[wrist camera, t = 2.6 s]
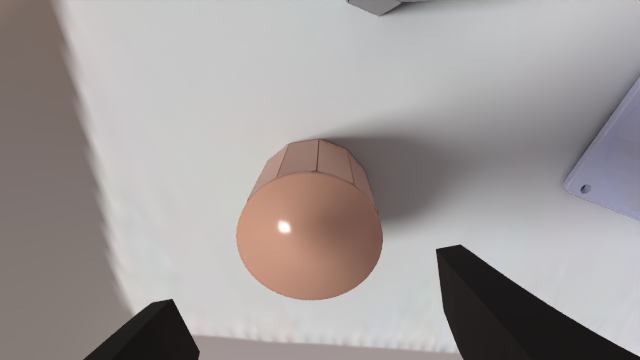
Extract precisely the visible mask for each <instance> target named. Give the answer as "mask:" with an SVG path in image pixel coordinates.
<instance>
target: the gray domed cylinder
mask: <svg viewBox="0 0 640 360" xmlns="http://www.w3.org/2000/svg"><path fill="white" fill-rule="evenodd" d="M346 1H347V2H348V1H349V2H348V3H349V4H352V5H354V6H356V7H359V8H361V9H363V10H365V11H368V12H370V13H372V14H375V15H377V16H381V15H382V14H384V13H386V12H387V11H389V10H391V9H393V8H394V7H396V6H398V5H399V4H401V3H402V2H421V1H428V0H346Z"/></svg>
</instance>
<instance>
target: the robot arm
mask: <svg viewBox="0 0 640 360" xmlns="http://www.w3.org/2000/svg"><path fill="white" fill-rule="evenodd" d="M584 185H586V186H585V188H584V189H583V190H581V187H582V186H584ZM563 188H564V190H566V191H567V192H569V193H571V194H573V195H576V196H578V197H581V198H583V199H586V200H588V201H591V202H594V203H596V204H599V205H601V206H604V207H606V208H609V209H611V210H614V211H617V212H619V213H622V214H624V215H627V216H629V217H632V218H635V219H637V220H640V77H639V78H638V79H637V81H636V82H635V84H634V85H633V86H632V88H631V89H630V91H629V92H628V93H627V95H626V96H625V97H624V99H623V100H622V102H621V103H620V104H619V106H618V107H617V109H616V110H615V111H614V113H613V114H612V115H611V117H610V118H609V120H608V121H607V122H606V124H605V125H604V127H603V128H602V129H601V131H600V132H599V134H598V135H597V136H596V138H595V139H594V140H593V142H592V143H591V145H590V146H589V147H588V149H587V150H586V152H585V153H584V154H583V156H582V157H581V158H580V160H579V161H578V163H577V164H576V165H575V167H574V168H573V170H572V171H571V172H570V174H569V175H568V177H567V178H566V179H565V181H564V183H563ZM436 254H437V262H438V270H439V278H440V286H441V293H442V301H443V309H444V313H445V315H446V318H447V321H448V323H449V326H450V329H451V331H452V334H453V337H454V339H455V342H456V344H457V347H458V349H459V352H460V354H461V356H462V358H463V359H464V360H640V357H639V356H637V355H635V354H633V353H631V352H630V351H628V350H626V349H624V348H622V347H620V346H618V345H616V344H614V343H613V342H611V341H609V340H607V339H605V338H604V337H602V336H600V335H598V334H597V333H595V332H593V331H591V330H590V329H588V328H586V327H585V326H583V325H581V324H579V323H578V322H576V321H574V320H573V319H571V318H569V317H568V316H566V315H564V314H563V313H561V312H559V311H558V310H556V309H555V308H553V307H551V306H550V305H548V304H547V303H545V302H543V301H542V300H540V299H539V298H537V297H536V296H534V295H533V294H531V293H530V292H528V291H527V290H525V289H524V288H522V287H521V286H519V285H518V284H516V283H515V282H513V281H512V280H510V279H509V278H507V277H506V276H504V275H503V274H501V273H500V272H499V271H497V270H496V269H494V268H493V267H491V266H490V265H489V264H487V263H486V262H484V261H483V260H482V259H480V258H479V257H478V256H476V255H475V254H473V253H472V252H471V251H469V250H468V249H466V248H465V247H463V246H462V245H455V246H450V247H445V248H439V249H436ZM199 353H200V351H199V349H198V348H197V346H196V344H195V342H194V340H193V338H192V336H191V334H190V332H189V330H188V328H187V326H186V324H185V322H184V320H183V319H182V317H181V315H180V313H179V311H178V309H177V307H176V305H175V303H174V301H173V299H169V300H164V301H159V302H153V303H151V304H150V305H148V306H147V307H146V308H144V309H143V310H142V311H140V312H139V313H138V314H137V315H135V316H134V317H133V318H132V319H131V320H129V321H128V322H127V323H126V324H124V325H123V326H122V327H121V328H120V329H119V330H117V331H116V332H115V333H114V334H113V335H111V336H110V337H109V338H108V339H107V340H106V341H105V342H103V343H102V344H101V345H100V346H99V347H98V348H96V349H95V350H94V351H93V352H92V353H90V354H89V355H88V356H87V357H86V358H85V359H84V360H198V358H199Z"/></svg>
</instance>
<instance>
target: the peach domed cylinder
mask: <svg viewBox="0 0 640 360" xmlns="http://www.w3.org/2000/svg"><path fill="white" fill-rule="evenodd" d="M236 238H237V247H238V251H239V254H240V257H241V259H242V261H243V263H244V265H245V267H246V268H247V269H248V271H249V272H250V273H251V274H252V276H253V277H254V278H255V279H256V280H258V281H259V282H260V283H261V284H262V285H264V286H265V287H267V288H268V289H270V290H272V291H274V292H276V293H278V294H281V295H284V296H286V297H290V298H294V299H301V300H322V299H328V298H332V297H336V296H339V295H341V294H344V293H346V292H348V291H350V290H352V289H353V288H355V287H356V286H358V285H359V284H360V283H362V282H363V281H364V280H365V279H366V278H367V277H368V276H369V274H370V273H371V272H372V271H373V269H374V267H375V266H376V264H377V262H378V259H379V257H380V254H381V250H382V243H383V236H382V228H381V224H380V220H379V217H378V211H377V208H376V205H375V201H374V198H373V195H372V192H371V189H370V186H369V183H368V179H367V176H366V173H365V171H364V169H363V168H362V167H361V166H360V164H359V163H358V162H357V161H356V160H355V158H354V157H353V156H352V155H351V153H350V152H349V151H348V150H347V149H345V148H342V147H340V146H337V145H334V144H332V143H329V142H326V141H324V140H321V139H314V140H308V141H302V142H295V143H290V144H288V145H287V146H285V147H284V148H283V149H282V150H281V151H279V152H278V153H277V154H276V155H274V156H273V157H272V158H271V159H269V160H268V161H267V163H266V165H265V167H264V169H263V171H262V173H261V174H260V176H259V178H258V180H257V182H256V184H255V186H254V188H253V190H252V192H251V194H250V196H249V198H248V200H247V203H246V205H245V207H244V209H243V211H242V213H241V216H240V218H239V221H238V225H237V233H236Z"/></svg>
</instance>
